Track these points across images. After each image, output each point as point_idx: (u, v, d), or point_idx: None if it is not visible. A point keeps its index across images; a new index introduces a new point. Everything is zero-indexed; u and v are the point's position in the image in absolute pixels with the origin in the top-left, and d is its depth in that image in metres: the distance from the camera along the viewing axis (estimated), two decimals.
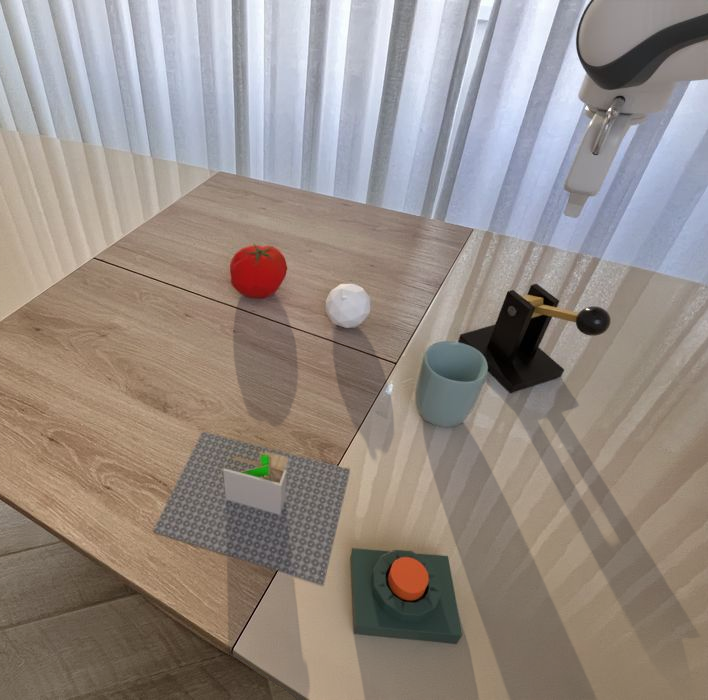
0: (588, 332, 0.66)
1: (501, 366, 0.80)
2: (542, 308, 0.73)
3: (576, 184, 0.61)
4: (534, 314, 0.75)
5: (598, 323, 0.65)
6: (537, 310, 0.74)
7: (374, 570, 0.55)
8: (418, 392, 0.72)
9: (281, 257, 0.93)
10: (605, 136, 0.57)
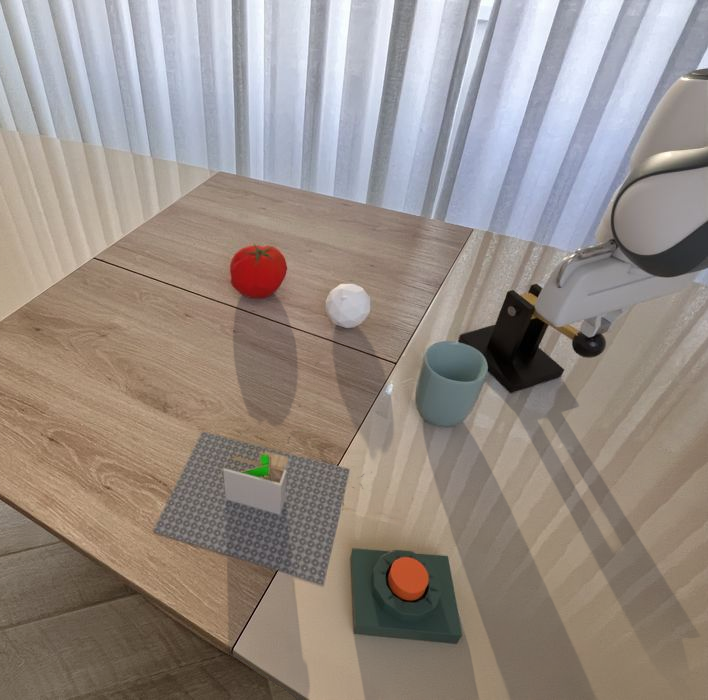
0: (581, 354, 0.68)
1: (501, 366, 0.80)
2: None
3: (541, 309, 0.61)
4: (532, 316, 0.75)
5: (594, 349, 0.67)
6: (536, 314, 0.75)
7: (374, 570, 0.55)
8: (418, 392, 0.72)
9: (281, 257, 0.93)
10: (563, 272, 0.57)
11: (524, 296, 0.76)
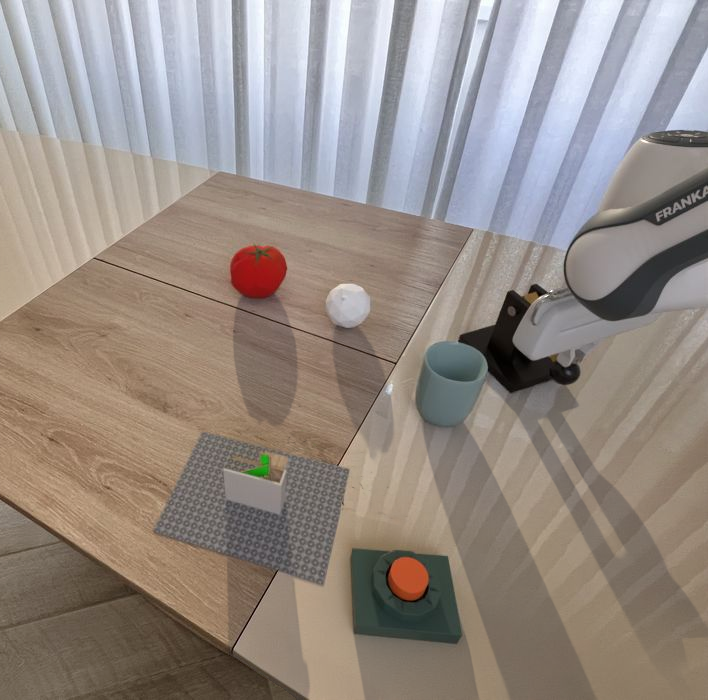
0: (553, 380, 0.74)
1: (501, 366, 0.80)
2: None
3: (518, 343, 0.66)
4: None
5: (566, 383, 0.72)
6: None
7: (374, 570, 0.55)
8: (418, 392, 0.72)
9: (281, 257, 0.93)
10: (537, 311, 0.61)
11: (529, 297, 0.75)
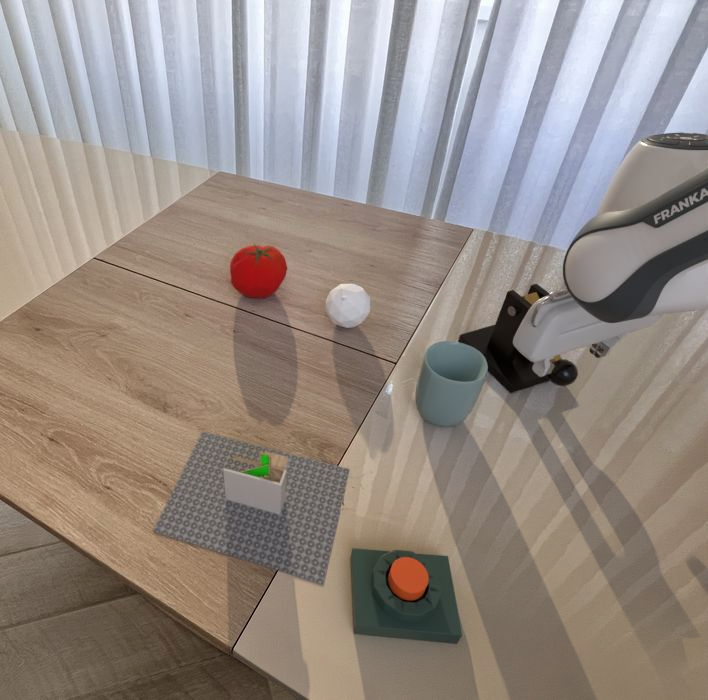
0: (551, 381, 0.74)
1: (501, 366, 0.80)
2: None
3: (518, 345, 0.66)
4: None
5: (563, 384, 0.73)
6: None
7: (374, 570, 0.55)
8: (418, 392, 0.72)
9: (281, 257, 0.93)
10: (537, 313, 0.62)
11: (529, 297, 0.75)
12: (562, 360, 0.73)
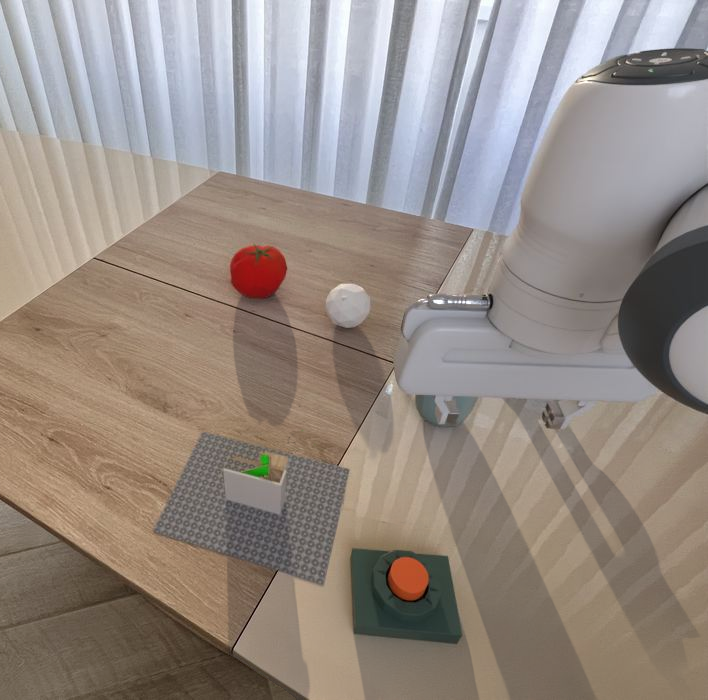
0: None
1: None
2: None
3: (394, 365, 0.46)
4: None
5: None
6: None
7: (374, 570, 0.55)
8: None
9: (281, 257, 0.93)
10: (405, 320, 0.42)
11: None
12: None
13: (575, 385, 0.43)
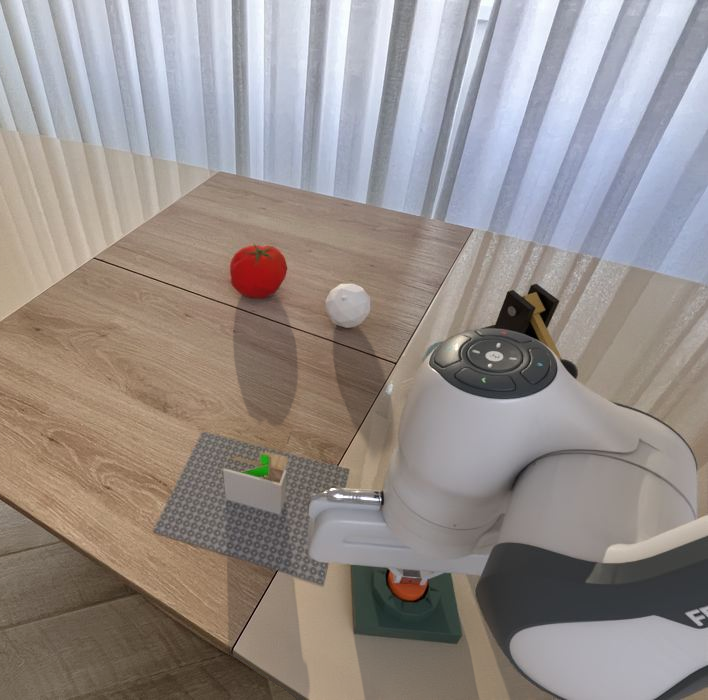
0: None
1: None
2: (536, 324, 0.75)
3: (308, 532, 0.51)
4: None
5: None
6: (532, 320, 0.76)
7: (374, 570, 0.55)
8: None
9: (281, 257, 0.93)
10: (309, 507, 0.47)
11: (529, 297, 0.75)
12: (562, 360, 0.73)
13: (465, 565, 0.47)
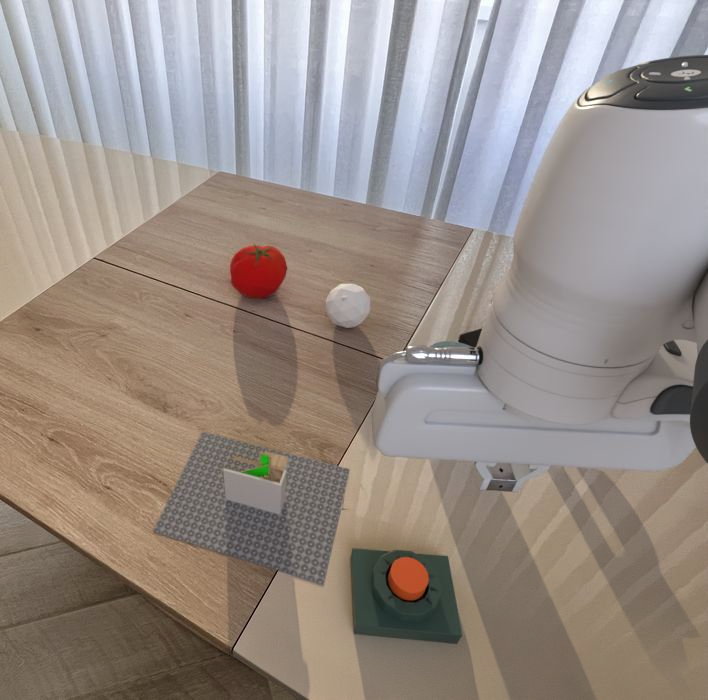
0: None
1: None
2: None
3: (372, 421, 0.40)
4: None
5: None
6: None
7: (374, 570, 0.55)
8: None
9: (281, 257, 0.93)
10: (379, 375, 0.36)
11: None
12: None
13: (583, 452, 0.37)
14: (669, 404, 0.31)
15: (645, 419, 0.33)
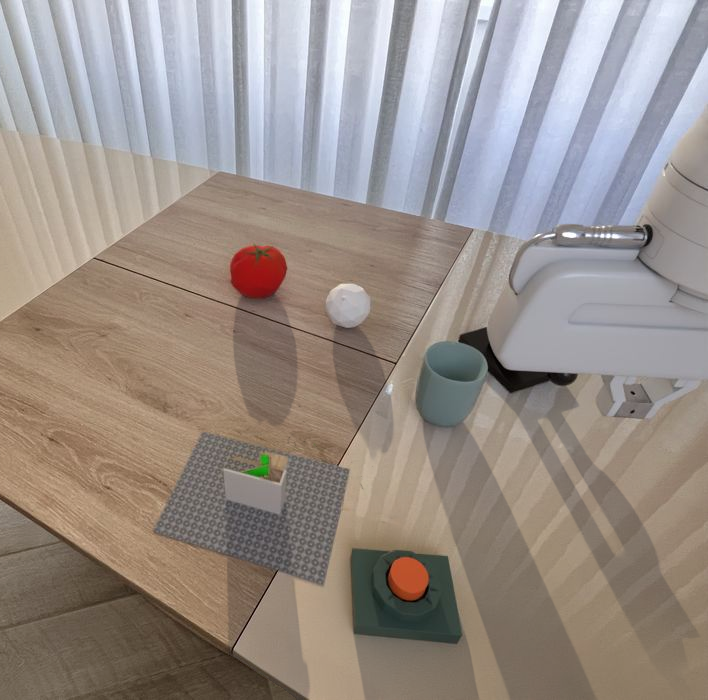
0: (551, 381, 0.74)
1: (501, 366, 0.80)
2: None
3: (490, 331, 0.34)
4: None
5: (563, 384, 0.73)
6: None
7: (374, 570, 0.55)
8: (418, 392, 0.72)
9: (281, 257, 0.93)
10: (517, 263, 0.30)
11: None
12: None
13: None
14: None
15: None
